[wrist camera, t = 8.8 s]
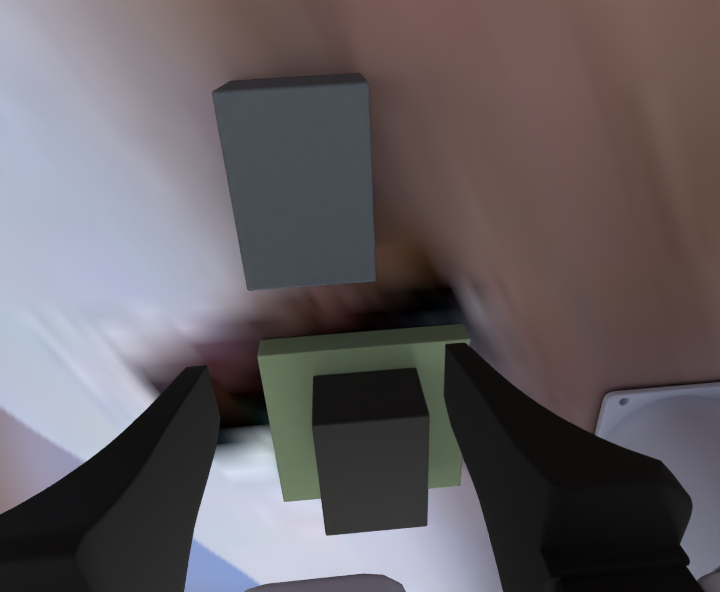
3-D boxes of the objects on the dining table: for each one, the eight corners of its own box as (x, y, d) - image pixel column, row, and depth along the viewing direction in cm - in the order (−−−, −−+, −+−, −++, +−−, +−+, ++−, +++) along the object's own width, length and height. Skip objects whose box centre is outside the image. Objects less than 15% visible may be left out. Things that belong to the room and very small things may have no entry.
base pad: (463, 323, 24) (470, 338, 23) (454, 466, 29) (460, 485, 28) (260, 339, 24) (256, 356, 23) (285, 482, 29) (283, 502, 28)
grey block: (361, 72, 19) (368, 81, 16) (369, 247, 22) (376, 282, 19) (228, 80, 19) (210, 91, 16) (257, 256, 22) (247, 291, 19)
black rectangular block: (416, 366, 24) (430, 415, 21) (415, 472, 27) (427, 526, 24) (312, 375, 24) (311, 425, 21) (325, 480, 27) (325, 536, 24)
